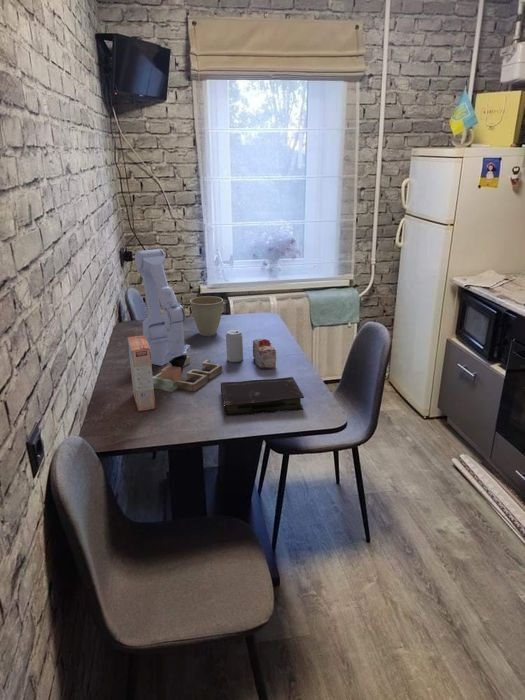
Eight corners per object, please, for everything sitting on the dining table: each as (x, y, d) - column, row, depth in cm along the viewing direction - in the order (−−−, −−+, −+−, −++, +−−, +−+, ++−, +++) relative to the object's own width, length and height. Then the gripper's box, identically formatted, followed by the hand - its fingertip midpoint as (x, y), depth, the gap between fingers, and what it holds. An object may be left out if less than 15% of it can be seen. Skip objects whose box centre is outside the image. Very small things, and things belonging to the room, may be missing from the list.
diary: (221, 394, 167) (220, 380, 166) (292, 388, 171) (292, 375, 169) (225, 419, 150) (224, 404, 148) (304, 412, 154) (304, 398, 152)
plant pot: (223, 338, 218) (221, 304, 213) (190, 339, 219) (187, 304, 213) (225, 328, 232) (224, 295, 227) (194, 328, 233) (192, 296, 227)
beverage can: (240, 363, 191) (239, 334, 186) (225, 362, 192) (223, 333, 188) (244, 357, 196) (243, 329, 192) (229, 356, 198) (228, 328, 193)
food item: (278, 369, 185) (278, 344, 182) (258, 371, 183) (258, 347, 180) (268, 356, 198) (268, 333, 194) (249, 358, 196) (249, 335, 192)
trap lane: (148, 387, 172) (147, 376, 170) (187, 362, 193) (187, 352, 191) (188, 395, 165) (187, 384, 163) (225, 369, 186) (224, 359, 184)
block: (162, 382, 175) (161, 370, 173) (170, 377, 179) (169, 365, 177) (173, 385, 173) (172, 372, 171) (182, 380, 177) (181, 367, 175)
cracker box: (157, 409, 156) (150, 348, 149) (137, 412, 154) (130, 350, 147) (151, 391, 168) (145, 334, 161) (133, 394, 167) (126, 336, 159)
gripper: (173, 347, 166) (176, 383, 171) (196, 334, 179) (198, 369, 183) (156, 344, 169) (160, 380, 174) (180, 332, 182) (182, 366, 186)
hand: (178, 374), depth 179 cm, fingers closed
